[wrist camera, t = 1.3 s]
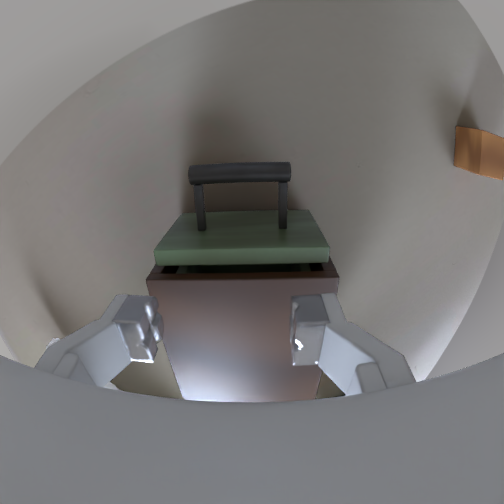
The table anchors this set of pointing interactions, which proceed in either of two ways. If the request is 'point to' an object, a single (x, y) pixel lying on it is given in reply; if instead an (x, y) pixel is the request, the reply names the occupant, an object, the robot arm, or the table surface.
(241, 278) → the cabinet
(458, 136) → the block
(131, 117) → the table surface
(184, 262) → the drawer
